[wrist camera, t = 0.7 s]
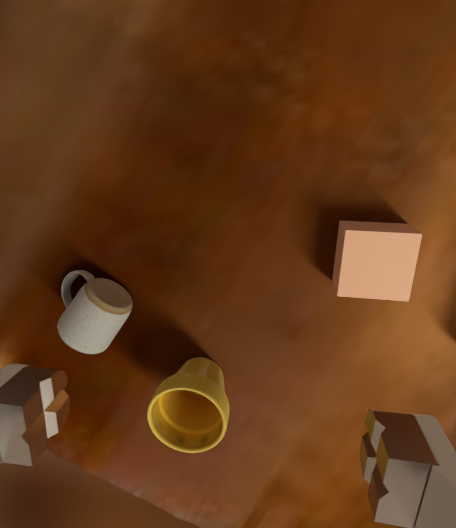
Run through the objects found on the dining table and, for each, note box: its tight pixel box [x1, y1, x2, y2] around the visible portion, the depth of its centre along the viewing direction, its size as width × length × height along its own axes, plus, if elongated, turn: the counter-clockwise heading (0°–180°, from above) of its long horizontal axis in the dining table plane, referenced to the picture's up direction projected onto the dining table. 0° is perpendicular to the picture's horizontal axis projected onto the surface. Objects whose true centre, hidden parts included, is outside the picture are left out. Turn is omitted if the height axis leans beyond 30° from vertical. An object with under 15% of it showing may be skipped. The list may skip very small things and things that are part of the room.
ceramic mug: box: [57, 270, 133, 354], centre depth 50 cm, size 11×8×8 cm
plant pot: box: [147, 357, 229, 453], centre depth 51 cm, size 10×10×10 cm
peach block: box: [332, 221, 422, 301], centre depth 44 cm, size 8×8×5 cm
